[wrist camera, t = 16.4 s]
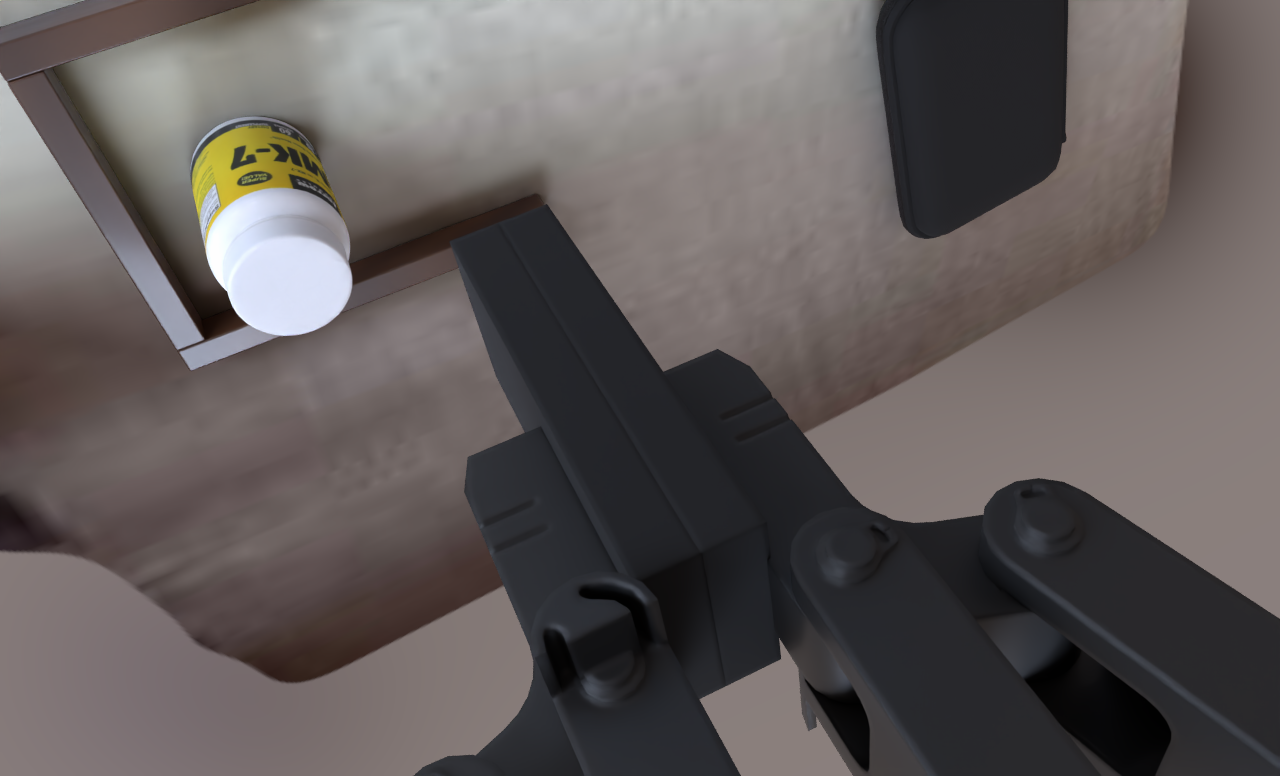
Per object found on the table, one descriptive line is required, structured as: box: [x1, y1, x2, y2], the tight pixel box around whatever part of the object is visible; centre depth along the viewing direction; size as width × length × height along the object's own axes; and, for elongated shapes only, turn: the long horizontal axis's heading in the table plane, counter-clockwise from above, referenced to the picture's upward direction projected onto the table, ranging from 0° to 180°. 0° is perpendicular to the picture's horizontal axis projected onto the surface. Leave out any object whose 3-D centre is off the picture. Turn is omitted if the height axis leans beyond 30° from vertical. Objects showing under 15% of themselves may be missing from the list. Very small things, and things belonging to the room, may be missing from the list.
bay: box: [0, 0, 544, 371], centre depth 40 cm, size 16×14×2 cm
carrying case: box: [876, 0, 1068, 239], centre depth 51 cm, size 11×3×15 cm
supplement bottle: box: [190, 116, 352, 336], centre depth 38 cm, size 5×5×8 cm
